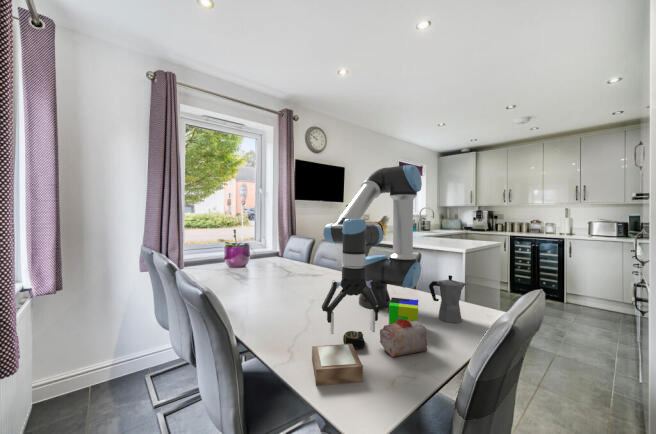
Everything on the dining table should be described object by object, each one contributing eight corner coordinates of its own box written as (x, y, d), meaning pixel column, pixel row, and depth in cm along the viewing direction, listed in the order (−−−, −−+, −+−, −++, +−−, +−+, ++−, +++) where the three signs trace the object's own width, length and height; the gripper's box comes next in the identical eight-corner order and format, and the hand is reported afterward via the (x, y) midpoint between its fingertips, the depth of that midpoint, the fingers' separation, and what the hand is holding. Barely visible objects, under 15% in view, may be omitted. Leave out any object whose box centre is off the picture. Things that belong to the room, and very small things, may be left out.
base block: (351, 357, 81) (352, 343, 81) (362, 381, 69) (362, 365, 69) (312, 359, 79) (312, 345, 79) (316, 385, 67) (316, 368, 67)
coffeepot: (459, 314, 116) (460, 272, 116) (471, 323, 107) (472, 278, 106) (424, 314, 115) (424, 273, 115) (433, 323, 106) (434, 278, 106)
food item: (390, 360, 79) (391, 327, 79) (377, 347, 87) (378, 317, 87) (429, 353, 83) (430, 321, 83) (413, 341, 91) (414, 312, 91)
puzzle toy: (418, 325, 104) (418, 300, 104) (417, 336, 95) (418, 308, 94) (391, 322, 107) (391, 297, 107) (388, 332, 98) (389, 305, 98)
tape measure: (365, 351, 84) (365, 339, 84) (343, 350, 85) (343, 338, 85) (363, 341, 91) (363, 330, 91) (343, 340, 92) (343, 329, 91)
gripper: (386, 264, 93) (385, 325, 93) (314, 264, 90) (313, 328, 89) (394, 268, 86) (393, 334, 86) (316, 268, 82) (315, 338, 82)
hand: (352, 331), depth 87 cm, fingers open, 13 cm apart
